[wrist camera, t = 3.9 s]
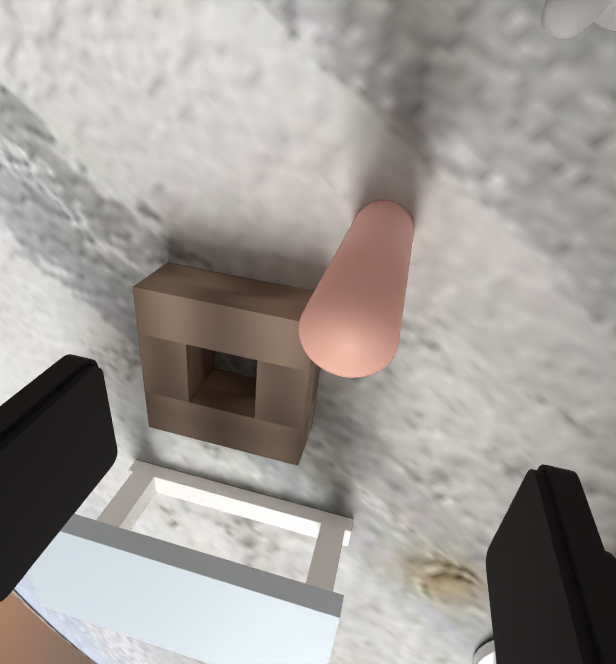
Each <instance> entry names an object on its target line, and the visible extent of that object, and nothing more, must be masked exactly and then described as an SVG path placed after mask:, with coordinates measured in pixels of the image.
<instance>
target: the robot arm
mask: <svg viewBox="0 0 616 664" xmlns="http://www.w3.org/2000/svg"><path fill="white" fill-rule="evenodd" d="M116 457H117V445H116V440H115V434H114V429H113V423H112V418H111V412H110V407H109V402H108V396H107V391H106V385H105V380H104V375H103V371H102V369H101V368H99V367H98V364H97V362H96V361H95V360H92V359H89V358H84V357H80V356H76V355H71V354H69V355H66V356H64V357H62V358H61V359H60V360H58V361H57V362H56V363H55V364H53V365H52V366H51V367H49V368H48V369H47V370H46V371H44V372H43V373H42V374H41V375H39V376H38V377H37V378H35V379H34V380H33V381H32V382H30V383H29V384H28V385H27V386H25V387H24V388H23V389H21V390H20V391H19V392H18V393H16V394H15V395H14V396H13V397H11V398H10V399H9V400H7V401H6V402H5V403H4V404H2V405H1V406H0V602H1V601H3V600H4V599H5V598H6V597H7V596H8V595H9V594H10V593H11V592H12V590H13V589H14V588H15V587H16V585H17V584H18V583H19V582H20V580H21V579H22V578H23V577H24V575H25V574H26V573H27V572H28V570H29V569H30V568H31V567H32V565H33V564H34V563H35V562H36V560H37V559H38V558H39V557H40V555H41V554H42V553H43V552H44V550H45V549H46V548H47V547H48V545H49V544H50V543H51V542H52V540H53V539H54V538H55V537H56V535H57V534H58V533H59V532H60V530H61V529H62V528H63V527H64V525H65V524H66V523H67V522H68V520H69V519H70V518H71V517H72V515H73V514H74V513H75V512H76V510H77V509H78V508H79V507H80V506H81V504H82V503H83V502H84V501H85V499H86V498H87V497H88V496H89V494H90V493H91V492H92V491H93V489H94V488H95V487H96V486H97V484H98V483H99V482H100V481H101V479H102V478H103V477H104V476H105V474H106V473H107V472H108V471H109V469H110V468H111V467H112V465H113V464H114V462H115V460H116ZM486 572H487V581H488V590H489V600H490V609H491V618H492V628H493V637H494V640H492V641H490V642H488V643H486V644H485V645H483V646H482V647H481V648H479V649H478V651H477V652H476V654H475V655H474V659H473V664H616V558H615V557H614V556H613V555H612V554H611V553H609V552H607V551H605V550H604V547H603V544H602V541H601V538H600V536H599V533H598V530H597V527H596V524H595V521H594V519H593V516H592V513H591V510H590V507H589V505H588V502H587V499H586V496H585V493H584V491H583V488H582V485H581V482H580V479H579V477H578V475H577V474H576V473H575V472H574V471H570V470H566V469H561V468H557V467H553V466H549V465H543V464H542V465H541V466H539V468H538V469H537V470H533V469H530V470H529V471H528V472H527V474H526V476H525V478H524V480H523V482H522V484H521V485H520V487H519V489H518V491H517V493H516V495H515V497H514V499H513V501H512V503H511V505H510V507H509V509H508V511H507V513H506V515H505V517H504V519H503V521H502V523H501V525H500V526H499V528H498V530H497V532H496V534H495V536H494V538H493V540H492V542H491V544H490V546H489V548H488V551H487V556H486Z"/></svg>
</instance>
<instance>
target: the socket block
mask: <svg viewBox="0 0 616 664" xmlns="http://www.w3.org/2000/svg"><path fill="white" fill-rule="evenodd" d="M133 293H134V302H135V310H136V319H137V328H138V336H139V345H140V353H141V362H142V371H143V379H144V388H145V396H146V405H147V414H148V422H149V427H151V428H155V429H159V430H163V431H167V432H171V433H175V434H178V435H182V436H186V437H190V438H194V439H198V440H202V441H205V442H209V443H213V444H217V445H221V446H225V447H229V448H232V449H236V450H240V451H244V452H248V453H252V454H255V455H259V456H263V457H267V458H271V459H275V460H279V461H282V462H286V463H290V464H294V465H299V462H300V459H301V456H302V453H303V450H304V447H305V445H306V442H307V439H308V436H309V433H310V430H311V427H312V422H313V414H314V407H315V399H316V392H317V385H318V377H319V370H320V367H319V366H318V365H317V364H316V363H314V362H313V361H312V360H311V359H310V358H309V356H308V355H307V353H306V352H305V350H304V348H303V346H302V344H301V341H300V337H299V322H300V318H301V315H302V313H303V311H304V309H305V307H306V306H307V304H308V302H309V300H310V298H311V297H312V295H313V293H314V291H309V290H304V289H299V288H294V287H288V286H283V285H278V284H273V283H268V282H263V281H258V280H253V279H247V278H242V277H237V276H232V275H227V274H222V273H217V272H211V271H206V270H201V269H196V268H191V267H186V266H181V265H176V264H170V263H166V264H165V265H163V266H162V267H161V268H159V269H158V270H156V271H155V272H153V273H152V274H151V275H149V276H148V277H146V278H145V279H143V280H142V281H141V282H139V283H138V284H136V285H135V286H133ZM214 351H218V352H223V353H227V354H232V355H236V356H241V357H245V358H249V359H254V360H257V378H256V379H255V378H250V377H246V376H242V375H237V374H233V373H229V372H224V371H220V370H216V369H214Z"/></svg>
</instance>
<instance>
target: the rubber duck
mask: <svg viewBox="0 0 616 664" xmlns="http://www.w3.org/2000/svg"><path fill="white" fill-rule="evenodd" d="M593 22H595V23H596V24H598V25H600V26H601V27H603V28H605V29H607V30H611V31H616V0H547V2H546V4H545V6H544V9H543V13H542V18H541V25H542V28H543V29H544V31H545V32H546V33H548V34H551V35H553V36H554V37H556V38H559V39H571V38H573V37H575V36H577V35H578V34H579V33H581V32H582V31H583V30H584V29H586V28H587V27H588V26H589V25H590V24H592V23H593Z"/></svg>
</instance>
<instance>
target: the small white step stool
mask: <svg viewBox="0 0 616 664" xmlns="http://www.w3.org/2000/svg"><path fill="white" fill-rule="evenodd" d="M129 476H130V477H129V478H128V479H127V480H126V482H125V483H124V484H123V486H122V487H121V488H120V490H119V491H118V492H117V494H116V495H115V496H114V498H113V499H112V500H111V501H110V503H109V504H108V505H107V507H106V508H105V509H104V511H103V512H102V513H101V515H100V516H99V517H98V519H97V520H93V519H89V518H86V517H83V516H79V515H76V514H73V515H72V517H71V518H70V519H69V520H68V522H67V523H66V524H65V525H64V527H63V528H62V529H61V530H60V532H59V533H58V534H57V535H56V537H55V538H54V539H53V540H52V542H51V543H50V544H49V545H48V547H47V548H46V549H45V550H44V552H43V553H42V554H41V555H40V557H39V558H38V559H37V560H36V562H35V563H34V564H33V565H32V567H31V568H30V569H29V570H28V574H29V577H30V580H31V582H32V585H33V587H34V590H35V592H36V595H37V597H38V600H39V603H40V605H41V607H44V608H47V609H50V610H53V611H56V612H59V613H62V614H65V615H68V616H71V617H74V618H77V619H79V620H82V621H85V622H88V623H91V624H94V625H97V626H100V627H103V628H106V629H109V630H112V631H114V632H117V633H120V634H123V635H126V636H129V637H132V638H135V639H138V640H141V641H144V642H147V643H149V644H152V645H155V646H158V647H161V648H164V649H167V650H170V651H173V652H176V653H179V654H182V655H185V656H187V657H190V658H193V659H196V660H199V661H202V662H205V663H208V664H328V663H329V659H330V655H331V651H332V647H333V643H334V639H335V635H336V631H337V627H338V623H339V619H340V614H341V609H342V603H343V597H344V595H341V594H338V593H335V592H333V588H334V583H335V578H336V573H337V568H338V563H339V558H340V553H341V548H342V545H344V546H347V547H348V543H349V538H350V534H351V529H352V524H353V519H350V518H347V517H343V516H339V515H336V514H332V513H328V512H325V511H321V510H317V509H314V508H310V507H306V506H303V505H299V504H295V503H292V502H288V501H284V500H281V499H277V498H273V497H270V496H266V495H263V494H259V493H255V492H252V491H248V490H244V489H241V488H237V487H233V486H230V485H226V484H222V483H219V482H215V481H211V480H208V479H204V478H200V477H197V476H193V475H189V474H186V473H182V472H178V471H175V470H171V469H167V468H164V467H160V466H156V465H153V464H149V463H146V462H142V461H138V460H136V461H135V462H134V463H133V465H132V466H131V467H130V468H129ZM156 492H157V493H160V494H164V495H168V496H171V497H175V498H178V499H182V500H185V501H189V502H192V503H196V504H199V505H203V506H206V507H210V508H213V509H217V510H220V511H224V512H227V513H231V514H234V515H238V516H242V517H245V518H249V519H252V520H256V521H259V522H263V523H266V524H270V525H273V526H277V527H280V528H284V529H287V530H291V531H294V532H298V533H301V534H305V535H308V536H312V537H316V538H317V542H316V546H315V549H314V553H313V557H312V561H311V565H310V569H309V573H308V577H307V581H306V584H305V583H302V582H298V581H295V580H292V579H288V578H285V577H282V576H278V575H275V574H272V573H269V572H265V571H262V570H259V569H255V568H252V567H249V566H245V565H242V564H239V563H235V562H232V561H229V560H225V559H222V558H219V557H215V556H212V555H209V554H206V553H202V552H199V551H196V550H192V549H189V548H186V547H182V546H179V545H176V544H172V543H169V542H166V541H162V540H159V539H156V538H152V537H149V536H146V535H142V534H139V533H136V532H133V531H131V529H132V528H133V526H134V525H135V523H136V522H137V520H138V519H139V517H140V516H141V514H142V513H143V511H144V510H145V508H146V507H147V505H148V504H149V502H150V501H151V499H152V498H153V496H154V495H155V493H156Z"/></svg>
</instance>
